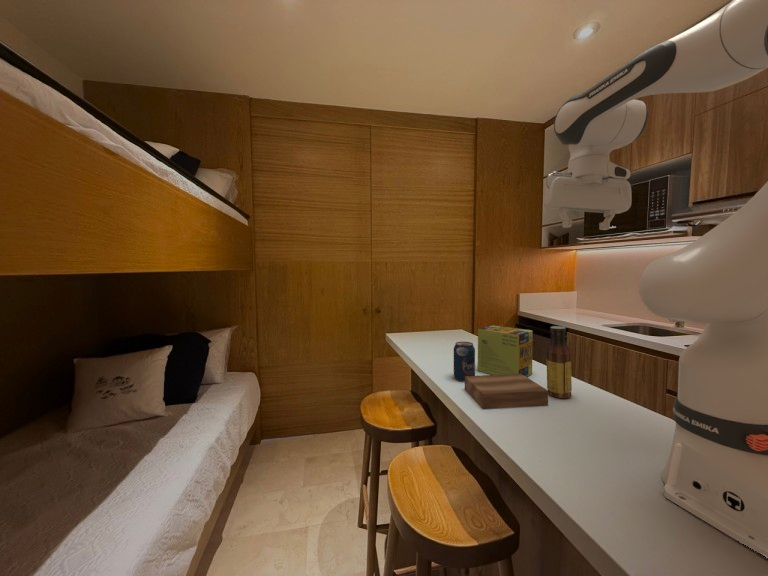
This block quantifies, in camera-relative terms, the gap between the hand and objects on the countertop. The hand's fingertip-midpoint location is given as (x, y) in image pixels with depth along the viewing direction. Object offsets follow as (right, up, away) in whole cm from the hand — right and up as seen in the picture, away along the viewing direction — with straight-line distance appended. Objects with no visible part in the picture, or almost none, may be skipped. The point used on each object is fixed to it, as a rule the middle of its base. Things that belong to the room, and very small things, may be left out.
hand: (585, 228), depth 80 cm
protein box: (-8, -45, +33) cm, 56 cm away
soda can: (-24, -46, +27) cm, 58 cm away
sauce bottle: (0, -46, +12) cm, 48 cm away
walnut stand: (-16, -46, +12) cm, 50 cm away
